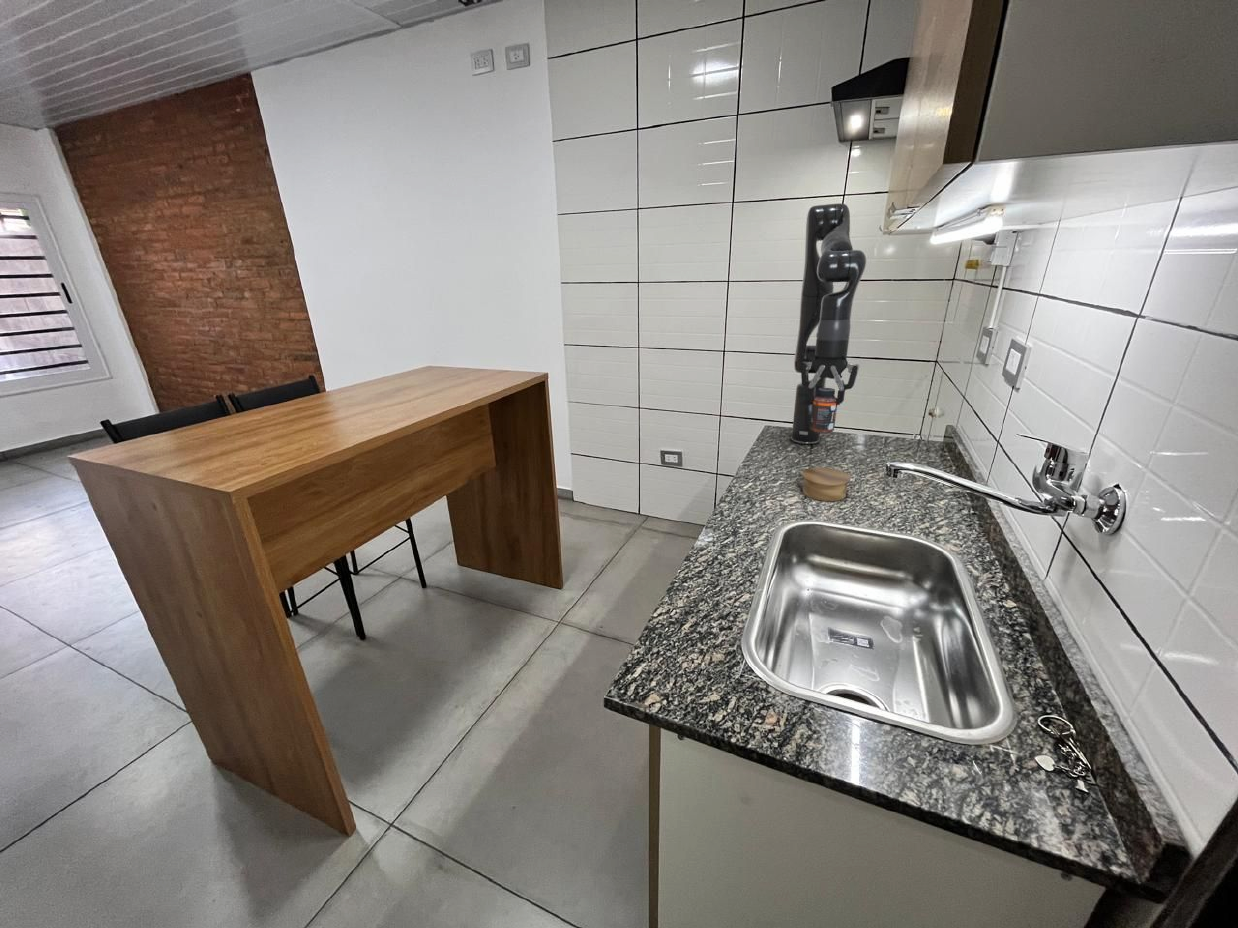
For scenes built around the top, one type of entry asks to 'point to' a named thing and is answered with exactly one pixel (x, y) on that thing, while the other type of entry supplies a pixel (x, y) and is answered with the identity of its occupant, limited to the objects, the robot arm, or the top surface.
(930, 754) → the top surface
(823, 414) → the supplement bottle
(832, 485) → the stand
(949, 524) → the top surface
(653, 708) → the top surface
